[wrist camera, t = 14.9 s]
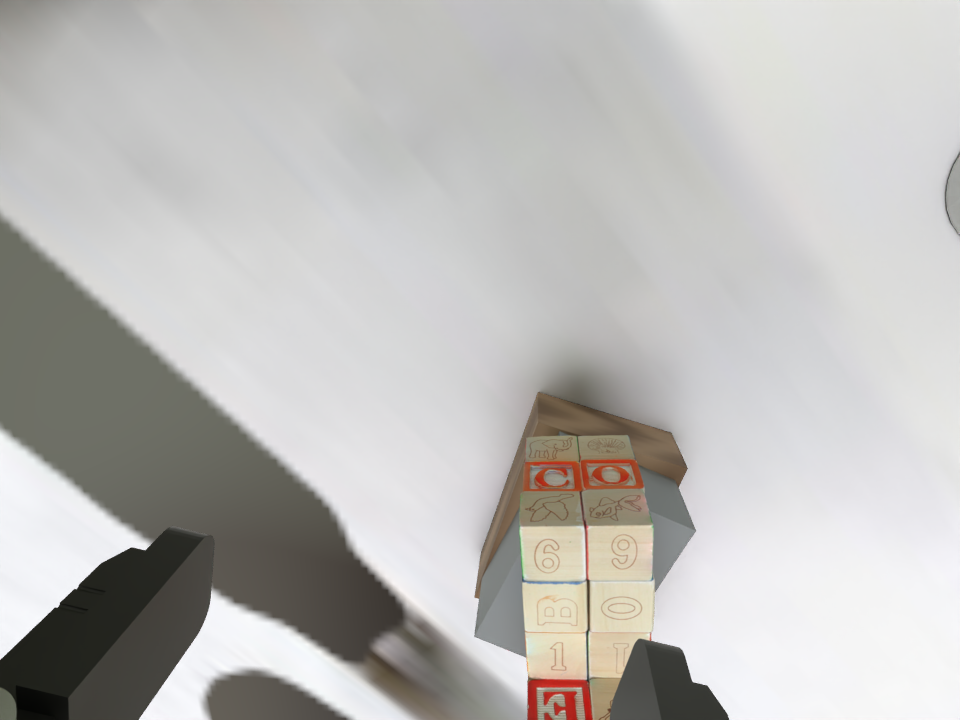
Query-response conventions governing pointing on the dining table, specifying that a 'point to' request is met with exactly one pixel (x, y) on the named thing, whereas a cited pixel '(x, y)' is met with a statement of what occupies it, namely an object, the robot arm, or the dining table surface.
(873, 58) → the dining table surface
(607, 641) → the stack of blocks
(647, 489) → the tower top block
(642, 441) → the tower base block
